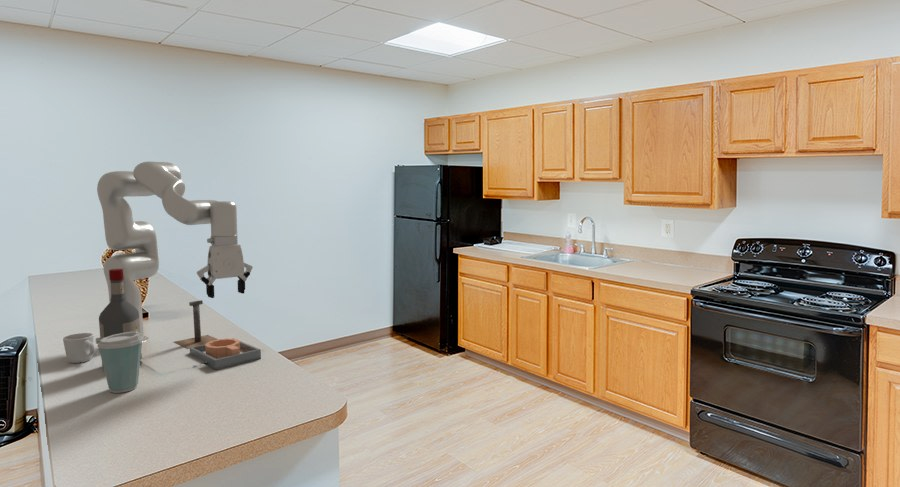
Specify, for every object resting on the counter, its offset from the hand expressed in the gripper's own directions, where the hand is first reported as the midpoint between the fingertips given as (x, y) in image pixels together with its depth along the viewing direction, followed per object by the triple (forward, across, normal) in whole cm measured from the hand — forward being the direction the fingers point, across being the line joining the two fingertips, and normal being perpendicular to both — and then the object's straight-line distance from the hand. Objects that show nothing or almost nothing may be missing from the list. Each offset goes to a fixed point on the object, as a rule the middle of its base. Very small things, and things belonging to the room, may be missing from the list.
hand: (226, 295), depth 171 cm
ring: (+20, 0, +1) cm, 20 cm away
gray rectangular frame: (+21, 0, +2) cm, 21 cm away
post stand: (+21, 0, +23) cm, 31 cm away
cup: (+22, -32, +31) cm, 50 cm away
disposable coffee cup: (+21, -31, -4) cm, 38 cm away
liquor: (+21, -25, +17) cm, 37 cm away
